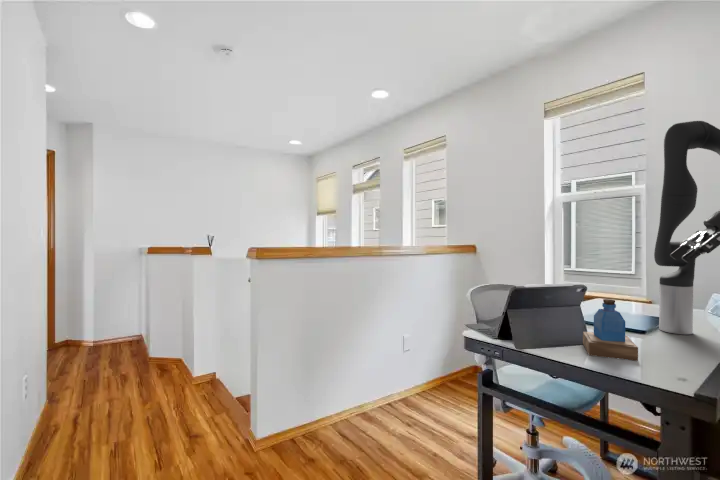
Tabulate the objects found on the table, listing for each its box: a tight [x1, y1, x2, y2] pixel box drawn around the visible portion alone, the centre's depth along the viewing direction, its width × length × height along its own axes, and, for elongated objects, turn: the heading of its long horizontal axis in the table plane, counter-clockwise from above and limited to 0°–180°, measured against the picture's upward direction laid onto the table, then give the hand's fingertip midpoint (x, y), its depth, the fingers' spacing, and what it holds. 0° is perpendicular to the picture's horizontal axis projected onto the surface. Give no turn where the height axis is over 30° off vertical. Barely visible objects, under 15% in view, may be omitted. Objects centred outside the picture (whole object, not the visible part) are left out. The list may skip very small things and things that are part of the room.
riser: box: [582, 331, 639, 362], centre depth 109 cm, size 12×12×4 cm
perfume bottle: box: [593, 298, 626, 342], centre depth 109 cm, size 6×6×12 cm
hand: (678, 259), depth 102 cm, fingers open, 8 cm apart
